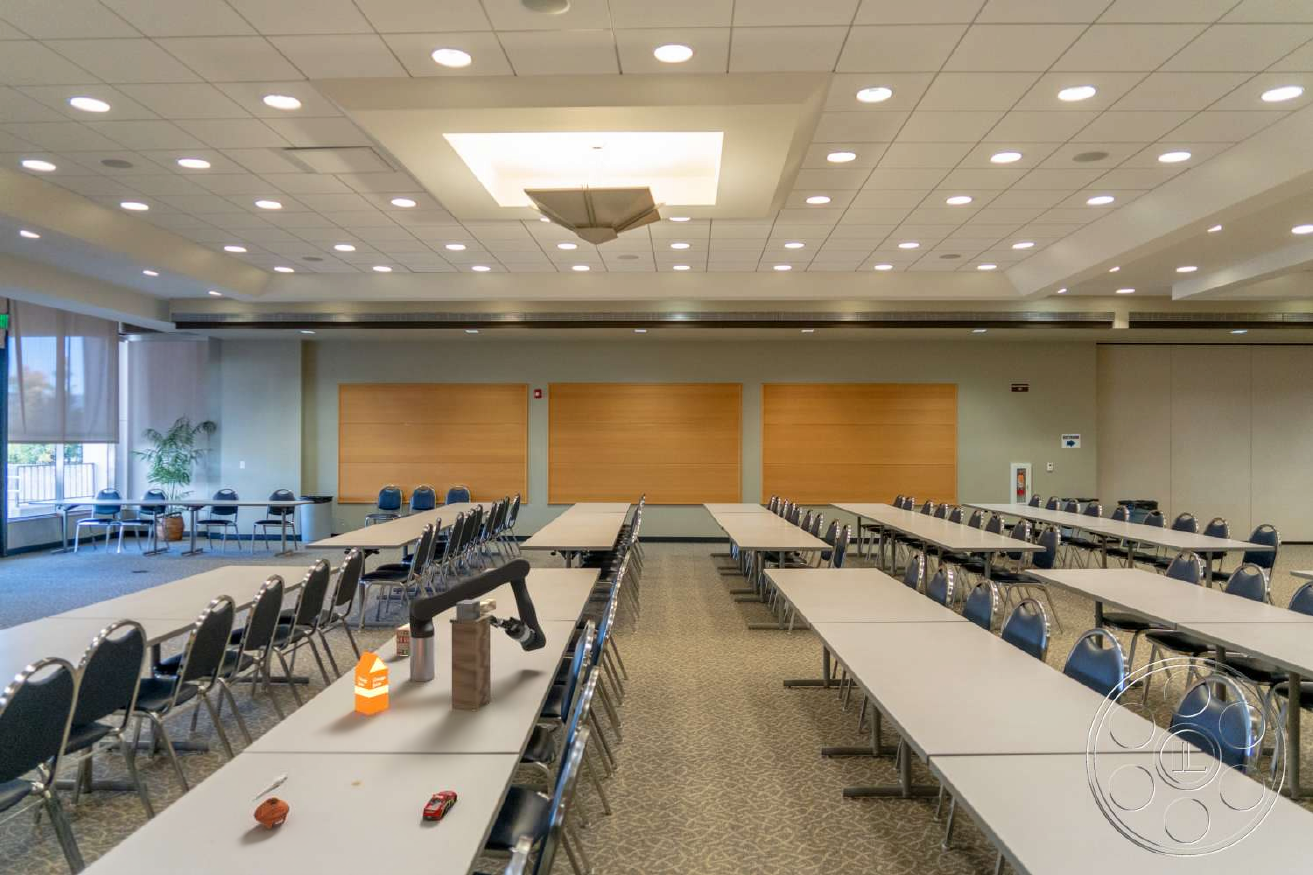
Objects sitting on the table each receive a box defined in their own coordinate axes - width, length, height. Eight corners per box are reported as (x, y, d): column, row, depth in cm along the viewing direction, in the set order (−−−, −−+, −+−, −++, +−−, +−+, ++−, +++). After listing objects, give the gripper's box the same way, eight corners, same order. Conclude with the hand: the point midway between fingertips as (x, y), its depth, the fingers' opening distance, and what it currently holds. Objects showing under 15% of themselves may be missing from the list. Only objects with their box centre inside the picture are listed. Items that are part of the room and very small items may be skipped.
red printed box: (417, 643, 362) (417, 617, 363) (430, 644, 362) (430, 618, 362) (396, 656, 341) (396, 628, 341) (409, 656, 340) (409, 629, 340)
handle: (485, 608, 292) (485, 592, 292) (499, 609, 291) (499, 593, 291) (456, 619, 273) (456, 602, 273) (471, 620, 272) (471, 603, 272)
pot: (281, 811, 197) (284, 787, 196) (291, 829, 191) (294, 805, 190) (248, 821, 191) (251, 796, 190) (257, 839, 186) (260, 814, 185)
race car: (441, 797, 206) (441, 782, 206) (460, 799, 205) (460, 784, 205) (418, 821, 193) (418, 805, 193) (439, 822, 192) (439, 807, 192)
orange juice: (373, 703, 279) (373, 648, 279) (388, 708, 274) (388, 652, 274) (354, 709, 273) (354, 653, 273) (369, 714, 268) (369, 657, 268)
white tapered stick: (283, 775, 219) (283, 769, 218) (292, 776, 218) (292, 770, 218) (248, 803, 204) (248, 796, 204) (258, 803, 203) (257, 796, 203)
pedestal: (466, 698, 284) (466, 612, 284) (492, 701, 281) (492, 614, 281) (449, 708, 273) (449, 619, 274) (476, 711, 270) (476, 621, 270)
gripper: (504, 620, 315) (486, 607, 302) (535, 622, 311) (519, 609, 297) (499, 638, 311) (481, 626, 298) (531, 640, 307) (514, 628, 294)
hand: (500, 618), depth 298 cm, fingers open, 8 cm apart
